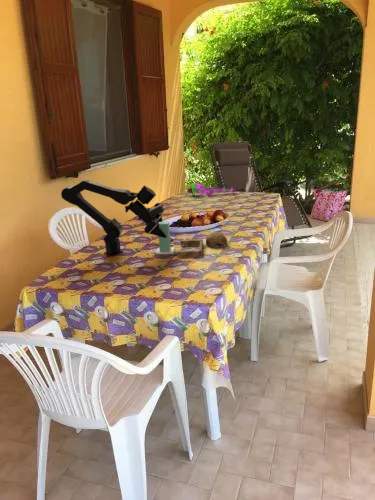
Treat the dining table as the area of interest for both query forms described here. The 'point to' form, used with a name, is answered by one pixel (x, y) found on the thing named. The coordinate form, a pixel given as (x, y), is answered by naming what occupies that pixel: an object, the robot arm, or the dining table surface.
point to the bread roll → (216, 239)
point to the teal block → (164, 242)
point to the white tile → (165, 252)
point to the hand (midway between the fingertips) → (167, 234)
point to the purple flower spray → (206, 190)
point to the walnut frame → (191, 253)
